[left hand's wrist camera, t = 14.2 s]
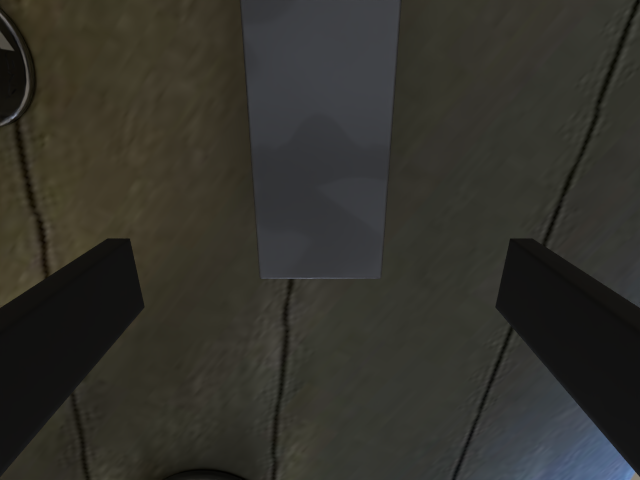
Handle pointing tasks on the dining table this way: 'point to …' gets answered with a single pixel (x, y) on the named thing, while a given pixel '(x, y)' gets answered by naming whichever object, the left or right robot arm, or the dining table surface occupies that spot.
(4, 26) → the right robot arm
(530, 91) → the dining table surface
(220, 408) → the dining table surface
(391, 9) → the cabinet
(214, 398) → the dining table surface
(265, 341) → the dining table surface
